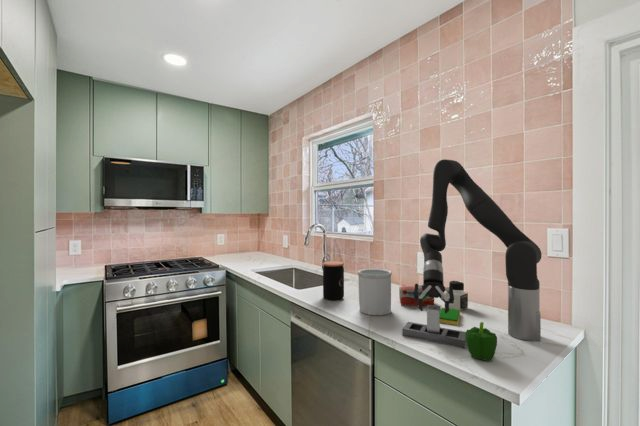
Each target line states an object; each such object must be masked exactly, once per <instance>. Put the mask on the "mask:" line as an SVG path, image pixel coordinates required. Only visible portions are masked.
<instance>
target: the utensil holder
mask: <svg viewBox="0 0 640 426" xmlns="http://www.w3.org/2000/svg"><path fill="white" fill-rule="evenodd" d="M357 275H358V277H357V278H358V301H359V303H358V304H359V305H358V306H359V311H360V312H361V313H362V314H365V315H369V316H386V315H388V314H390V313H392V312H391V311H392V276H393V275H392V271H391V270H389V269H384V268H363V269H359V270H357Z"/></svg>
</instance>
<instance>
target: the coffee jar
mask: <svg viewBox="0 0 640 426" xmlns="http://www.w3.org/2000/svg"><path fill="white" fill-rule="evenodd" d="M344 264H345V263H344V262H343V261H338V260H337V261H336V260H331V261H324V262H323V263H322V266H323V267H322V289H323V290H322V297H323V298H324V299H325V300H326V301H330V302H331V301H332V302H334V301H335V302H337V301H340V300H343V299H344V297H345V272H344V271H345V268H344Z"/></svg>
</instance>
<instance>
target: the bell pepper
mask: <svg viewBox="0 0 640 426" xmlns="http://www.w3.org/2000/svg"><path fill="white" fill-rule="evenodd" d="M484 326H485V325H484V322H483V321H480V322H479V327H477V326H473V327H471V328H470V329H467V330H466V331H465V332H466V333H465V336H466V347H467V351H468V353H469V354H470V356H471V357H472V358H473V359H476V360H483V361H487V362H489V361H492V360H493V359H494V357H495V354H496V351H497V346H498V337H497V335H496V333H494V332H491V331H490V330H489V329H488V328H485V327H484Z"/></svg>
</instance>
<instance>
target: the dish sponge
mask: <svg viewBox="0 0 640 426" xmlns="http://www.w3.org/2000/svg"><path fill="white" fill-rule="evenodd" d="M460 317H461V311H460V310H456V309H450V308H449V312H447V313H445V307H442V308H440V324H447V325H453V326H458V325H459V320H460Z"/></svg>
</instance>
